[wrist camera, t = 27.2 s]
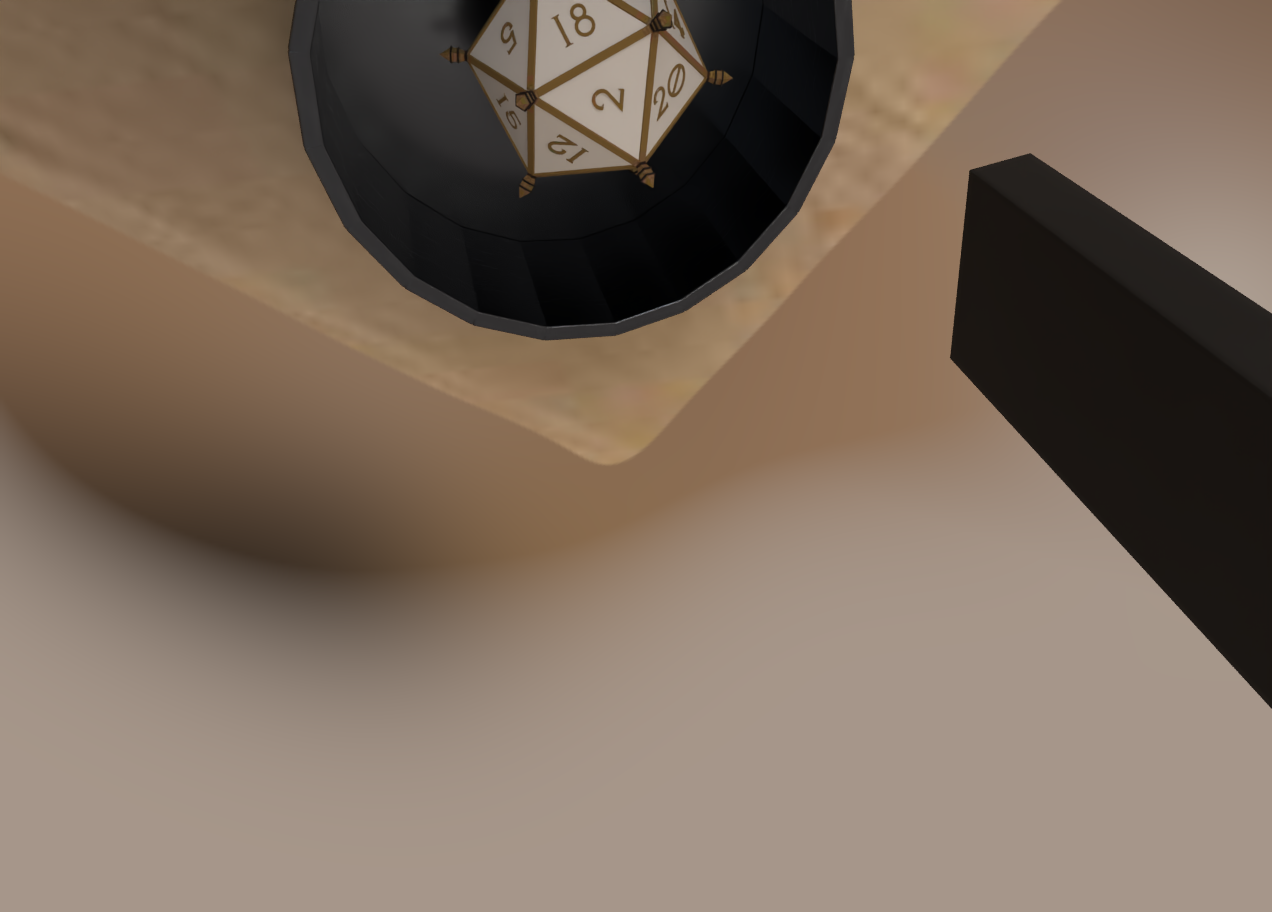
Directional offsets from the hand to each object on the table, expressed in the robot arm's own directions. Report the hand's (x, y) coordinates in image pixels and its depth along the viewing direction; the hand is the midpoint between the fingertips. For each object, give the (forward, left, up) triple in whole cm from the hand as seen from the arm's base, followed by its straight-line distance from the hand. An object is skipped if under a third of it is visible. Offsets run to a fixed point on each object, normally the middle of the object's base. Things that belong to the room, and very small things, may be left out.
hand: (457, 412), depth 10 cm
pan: (+4, +5, -27) cm, 27 cm away
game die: (+4, +6, -26) cm, 27 cm away
